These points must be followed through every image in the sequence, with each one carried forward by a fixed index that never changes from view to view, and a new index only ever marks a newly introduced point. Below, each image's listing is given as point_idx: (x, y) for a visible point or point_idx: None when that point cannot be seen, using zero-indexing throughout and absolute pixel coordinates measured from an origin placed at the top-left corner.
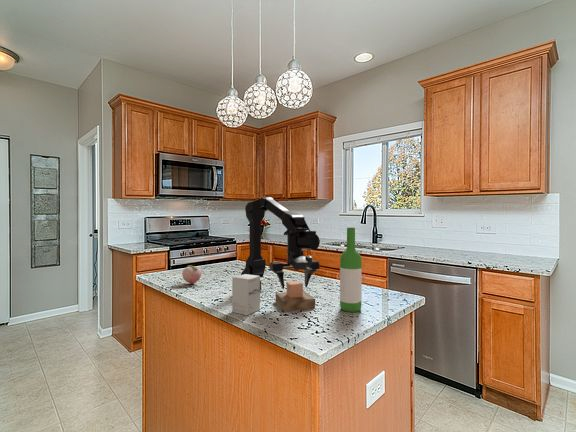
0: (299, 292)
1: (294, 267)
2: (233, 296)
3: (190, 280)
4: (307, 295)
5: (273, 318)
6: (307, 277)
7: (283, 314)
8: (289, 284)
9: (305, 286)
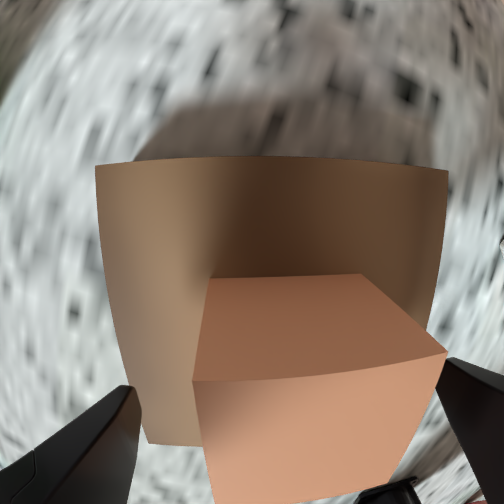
0: (257, 300)
1: None
2: None
3: (482, 502)
4: (142, 318)
5: (472, 71)
6: (58, 489)
7: (419, 102)
8: (430, 386)
9: (137, 406)
